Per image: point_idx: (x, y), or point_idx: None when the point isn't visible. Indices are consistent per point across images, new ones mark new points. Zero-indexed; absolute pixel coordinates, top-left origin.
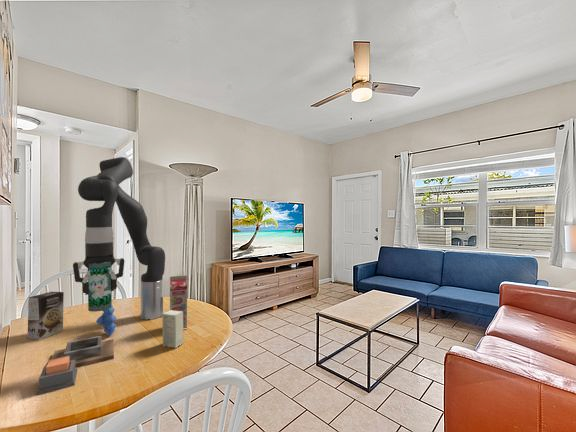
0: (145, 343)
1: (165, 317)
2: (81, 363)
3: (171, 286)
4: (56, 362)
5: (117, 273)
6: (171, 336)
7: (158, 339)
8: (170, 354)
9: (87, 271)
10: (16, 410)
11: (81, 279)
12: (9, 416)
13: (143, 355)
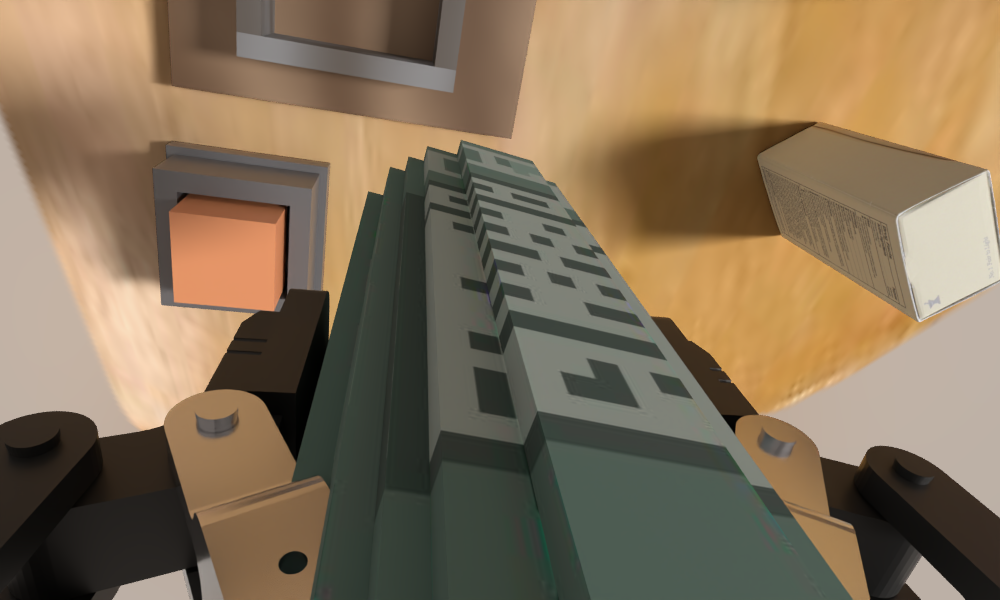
0: (709, 38)
1: (881, 236)
2: (348, 112)
3: None
4: (215, 272)
5: (859, 516)
6: (811, 234)
7: (790, 32)
8: (730, 277)
9: (213, 596)
10: (133, 350)
11: (147, 555)
12: (121, 375)
13: (636, 201)
